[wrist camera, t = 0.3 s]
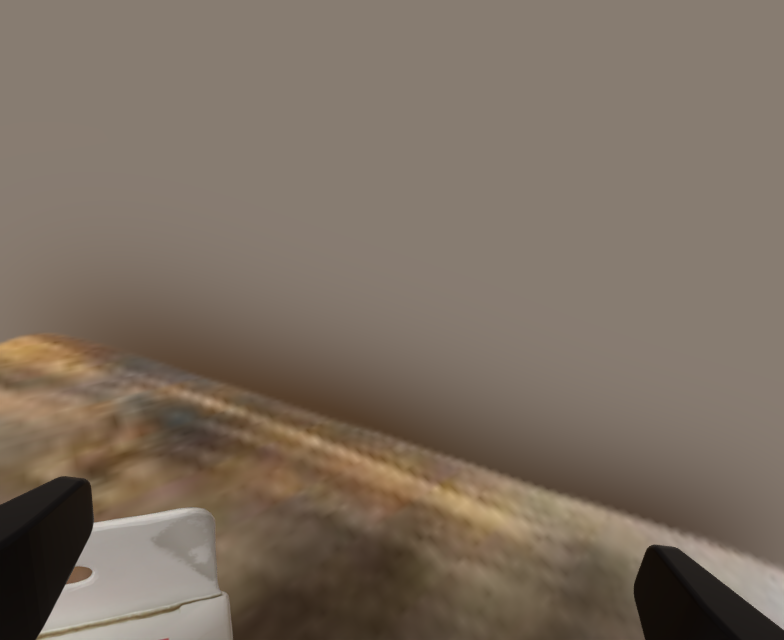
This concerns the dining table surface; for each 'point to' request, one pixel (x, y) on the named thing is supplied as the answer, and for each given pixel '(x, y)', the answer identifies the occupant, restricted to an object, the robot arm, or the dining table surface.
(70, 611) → the ink cartridge box
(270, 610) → the dining table surface
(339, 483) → the dining table surface
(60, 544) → the robot arm
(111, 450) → the dining table surface
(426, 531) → the dining table surface
